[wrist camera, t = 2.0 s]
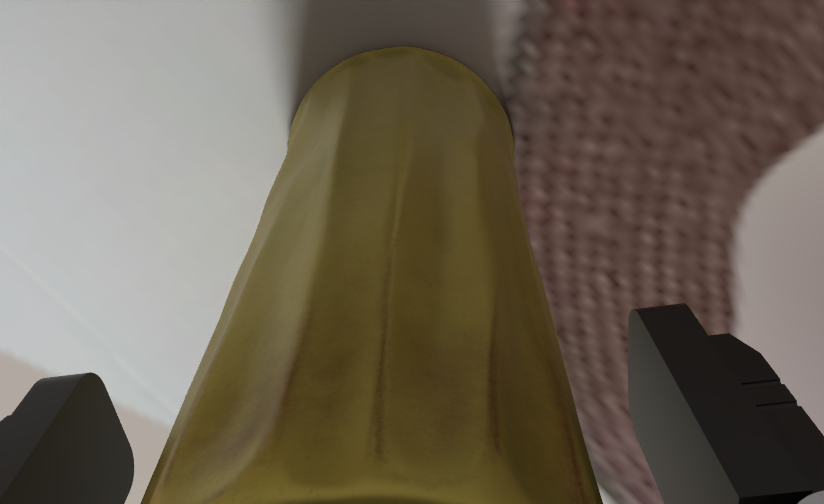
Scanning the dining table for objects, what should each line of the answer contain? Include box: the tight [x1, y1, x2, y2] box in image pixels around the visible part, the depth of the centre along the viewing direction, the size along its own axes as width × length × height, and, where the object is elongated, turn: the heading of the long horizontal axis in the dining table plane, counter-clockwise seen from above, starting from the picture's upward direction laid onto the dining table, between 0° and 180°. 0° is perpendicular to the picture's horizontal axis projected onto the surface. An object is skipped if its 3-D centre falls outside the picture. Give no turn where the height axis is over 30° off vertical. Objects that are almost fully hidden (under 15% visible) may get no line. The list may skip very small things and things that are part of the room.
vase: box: [141, 46, 603, 504], centre depth 13 cm, size 6×6×14 cm
